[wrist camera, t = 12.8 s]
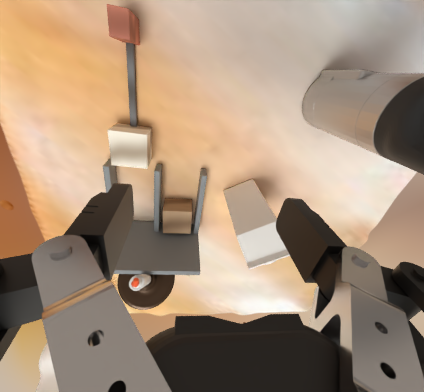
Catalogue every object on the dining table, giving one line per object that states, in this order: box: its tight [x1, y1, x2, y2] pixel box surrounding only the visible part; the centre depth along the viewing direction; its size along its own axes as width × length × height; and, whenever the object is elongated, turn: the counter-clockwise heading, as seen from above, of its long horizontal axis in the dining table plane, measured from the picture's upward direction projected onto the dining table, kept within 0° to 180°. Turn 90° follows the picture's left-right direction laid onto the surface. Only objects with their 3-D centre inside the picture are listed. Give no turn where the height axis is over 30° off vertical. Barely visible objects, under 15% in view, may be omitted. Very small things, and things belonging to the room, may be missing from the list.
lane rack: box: [103, 159, 207, 275], centre depth 39 cm, size 16×19×14 cm
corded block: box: [107, 4, 152, 169], centre depth 31 cm, size 21×6×6 cm, turn 171°
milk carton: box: [224, 179, 290, 269], centre depth 39 cm, size 7×7×19 cm
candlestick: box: [118, 274, 175, 310], centre depth 37 cm, size 11×11×35 cm
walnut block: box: [163, 198, 192, 234], centre depth 45 cm, size 6×6×5 cm
